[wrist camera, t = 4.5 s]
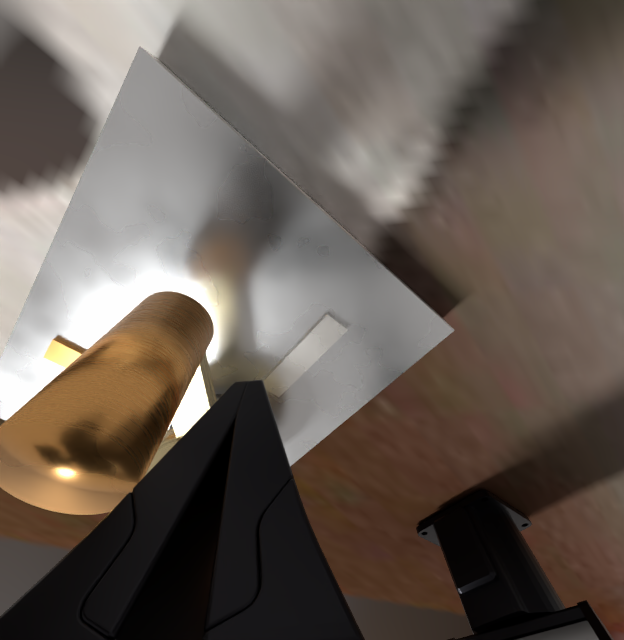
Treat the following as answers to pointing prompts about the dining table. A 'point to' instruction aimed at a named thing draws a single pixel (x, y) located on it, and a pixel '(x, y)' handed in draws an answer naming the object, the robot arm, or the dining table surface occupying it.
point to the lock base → (217, 267)
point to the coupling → (112, 410)
